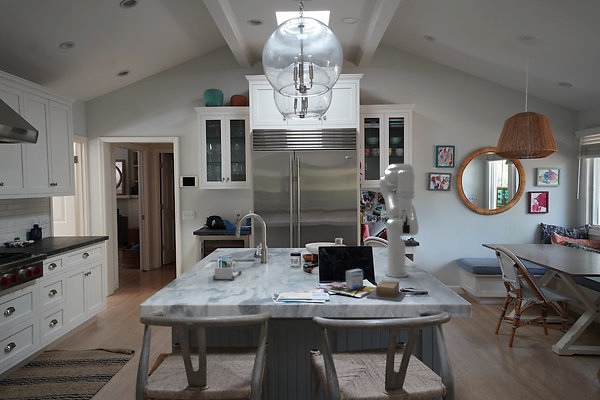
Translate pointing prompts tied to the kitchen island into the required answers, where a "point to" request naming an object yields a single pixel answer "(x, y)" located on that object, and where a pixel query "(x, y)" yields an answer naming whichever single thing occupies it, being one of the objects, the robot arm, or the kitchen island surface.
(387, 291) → the brown wooden block
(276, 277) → the kitchen island surface
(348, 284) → the medicine box
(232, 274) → the grey desk organizer
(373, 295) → the charcoal mat
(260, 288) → the kitchen island surface
